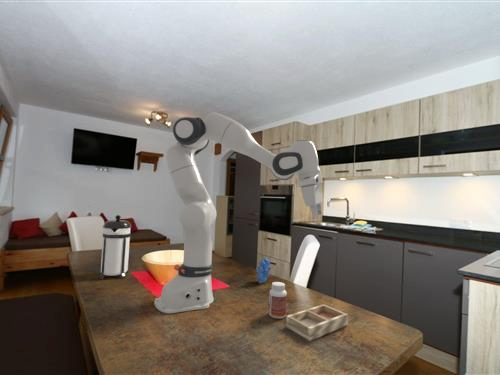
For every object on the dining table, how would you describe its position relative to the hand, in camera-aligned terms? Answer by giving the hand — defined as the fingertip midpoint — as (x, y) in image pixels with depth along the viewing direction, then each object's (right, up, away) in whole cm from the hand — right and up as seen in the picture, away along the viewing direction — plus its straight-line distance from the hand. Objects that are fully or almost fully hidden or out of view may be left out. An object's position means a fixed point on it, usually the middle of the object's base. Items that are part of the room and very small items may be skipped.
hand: (317, 216), depth 102 cm
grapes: (-20, -36, +29) cm, 51 cm away
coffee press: (-94, -33, +30) cm, 105 cm away
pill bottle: (-16, -35, -8) cm, 39 cm away
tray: (-4, -35, -15) cm, 38 cm away
